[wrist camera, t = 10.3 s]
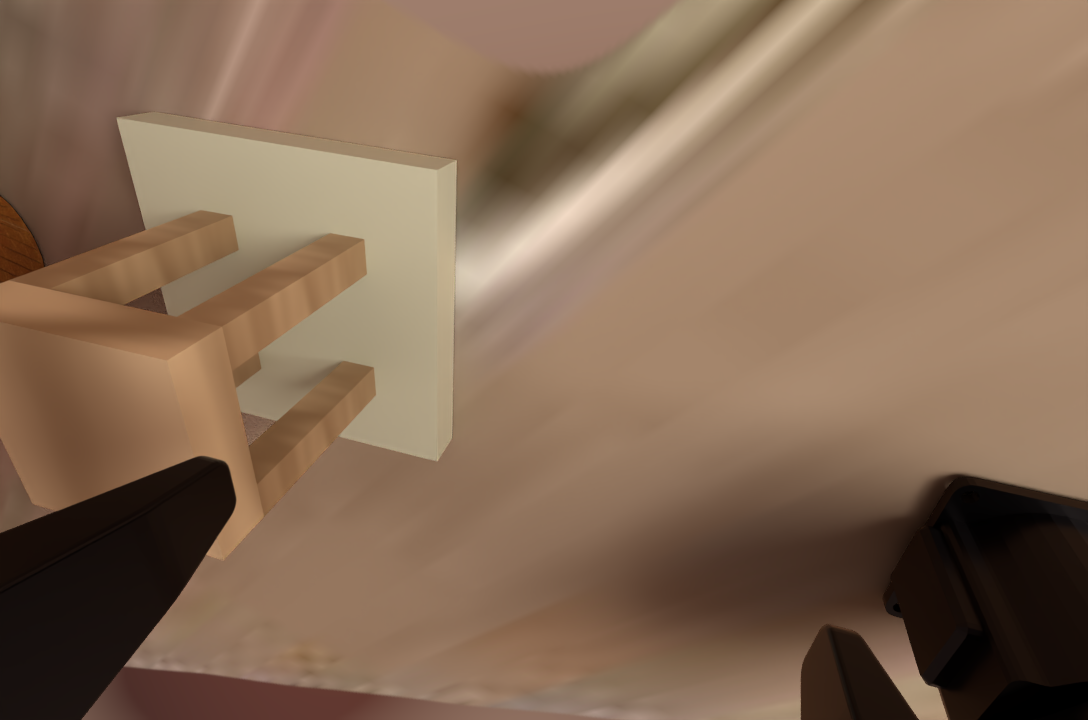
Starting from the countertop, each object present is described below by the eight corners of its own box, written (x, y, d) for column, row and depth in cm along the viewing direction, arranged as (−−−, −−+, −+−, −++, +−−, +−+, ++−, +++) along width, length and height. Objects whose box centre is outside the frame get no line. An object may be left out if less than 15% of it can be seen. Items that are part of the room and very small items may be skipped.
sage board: (456, 159, 18) (437, 170, 17) (452, 438, 24) (437, 461, 23) (153, 111, 20) (116, 117, 19) (215, 380, 26) (190, 399, 25)
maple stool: (364, 238, 19) (166, 360, 12) (376, 394, 22) (223, 560, 15) (201, 210, 20) (-64, 307, 13) (233, 362, 23) (32, 504, 16)
